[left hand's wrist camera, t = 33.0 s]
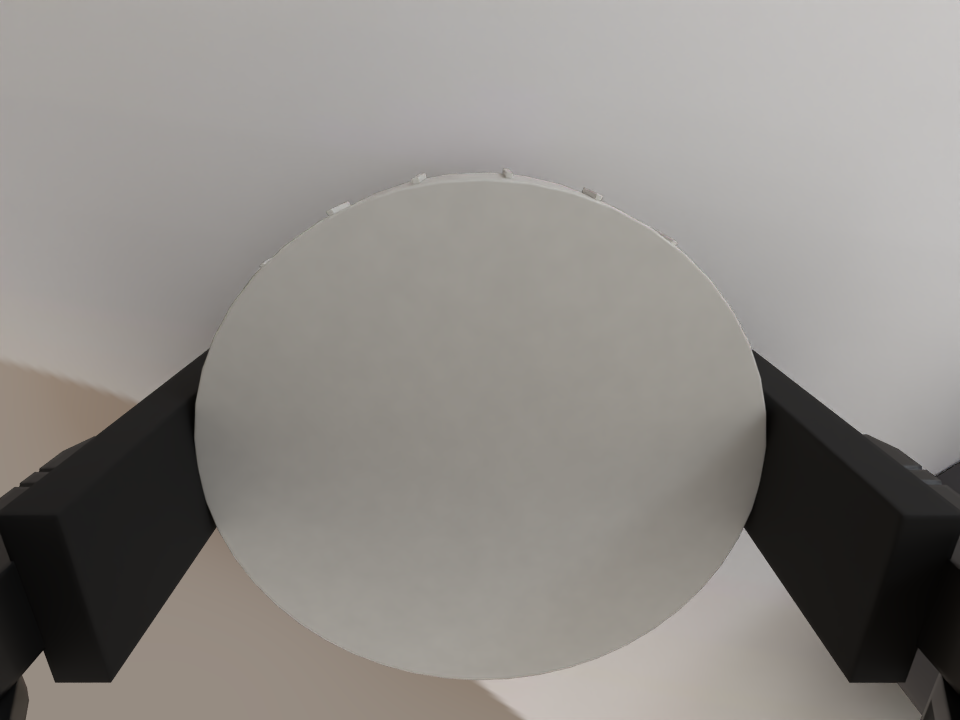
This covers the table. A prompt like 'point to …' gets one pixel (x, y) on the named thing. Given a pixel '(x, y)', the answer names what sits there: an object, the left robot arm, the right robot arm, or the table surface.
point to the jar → (921, 669)
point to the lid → (480, 427)
